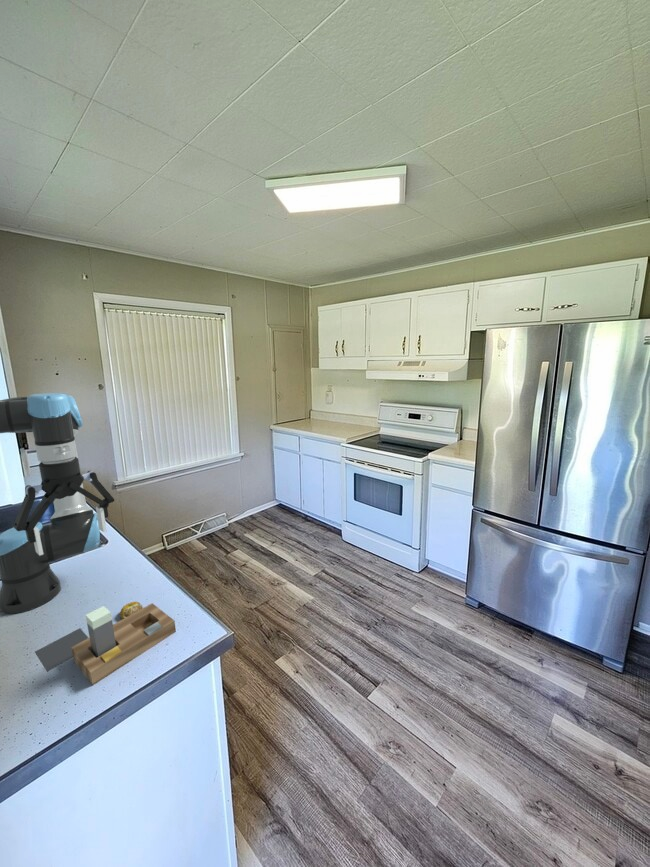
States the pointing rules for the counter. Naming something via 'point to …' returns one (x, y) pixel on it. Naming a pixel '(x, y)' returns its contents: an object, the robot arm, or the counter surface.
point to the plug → (101, 631)
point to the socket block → (125, 642)
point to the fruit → (130, 609)
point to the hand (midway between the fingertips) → (73, 541)
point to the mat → (60, 649)
